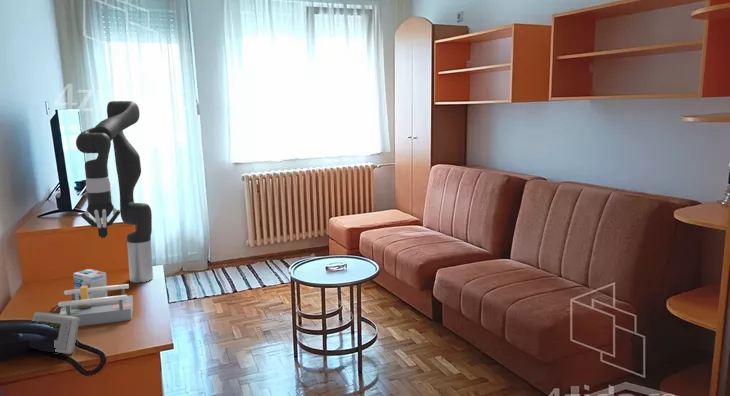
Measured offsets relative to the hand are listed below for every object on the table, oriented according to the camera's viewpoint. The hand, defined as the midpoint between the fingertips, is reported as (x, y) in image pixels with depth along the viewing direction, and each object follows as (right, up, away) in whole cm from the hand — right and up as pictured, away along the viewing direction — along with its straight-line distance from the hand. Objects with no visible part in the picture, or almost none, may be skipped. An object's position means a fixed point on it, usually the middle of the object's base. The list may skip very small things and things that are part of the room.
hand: (103, 237), depth 185 cm
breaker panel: (0, -28, -3) cm, 28 cm away
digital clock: (-1, -32, -28) cm, 43 cm away
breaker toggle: (-4, -24, -5) cm, 24 cm away
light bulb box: (-11, -25, +13) cm, 30 cm away
